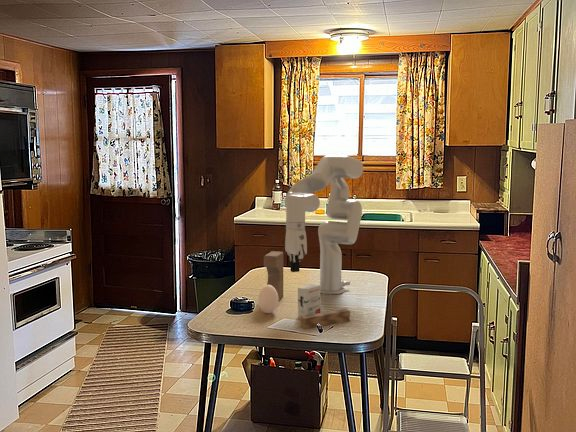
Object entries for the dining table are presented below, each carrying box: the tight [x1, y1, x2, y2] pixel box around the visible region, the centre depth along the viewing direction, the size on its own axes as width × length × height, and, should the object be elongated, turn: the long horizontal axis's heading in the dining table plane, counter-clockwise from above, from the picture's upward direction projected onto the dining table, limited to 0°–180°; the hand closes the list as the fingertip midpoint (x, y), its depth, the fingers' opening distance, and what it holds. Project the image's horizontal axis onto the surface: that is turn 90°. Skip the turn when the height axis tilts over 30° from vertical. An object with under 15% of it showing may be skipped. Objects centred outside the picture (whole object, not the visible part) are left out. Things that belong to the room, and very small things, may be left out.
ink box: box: [297, 283, 321, 318], centre depth 234 cm, size 8×5×12 cm, turn 140°
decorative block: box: [263, 250, 284, 301], centre depth 256 cm, size 11×6×20 cm, turn 163°
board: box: [299, 308, 351, 330], centre depth 224 cm, size 20×3×4 cm, turn 120°
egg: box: [257, 284, 280, 314], centre depth 237 cm, size 8×8×11 cm
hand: (294, 271), depth 241 cm, fingers closed
